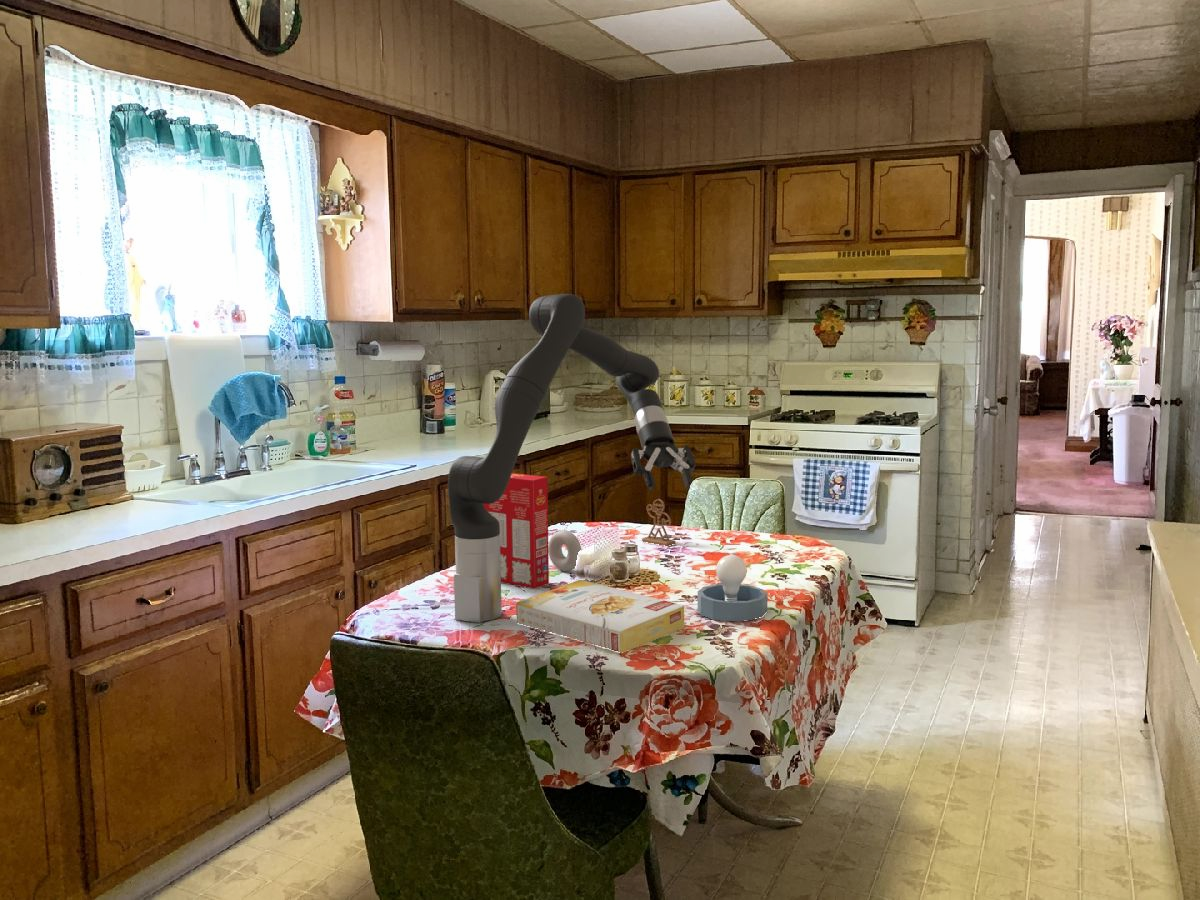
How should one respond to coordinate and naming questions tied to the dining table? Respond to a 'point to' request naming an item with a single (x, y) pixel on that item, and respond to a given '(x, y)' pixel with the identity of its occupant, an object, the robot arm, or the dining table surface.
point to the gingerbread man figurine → (653, 538)
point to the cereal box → (601, 615)
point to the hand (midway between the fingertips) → (670, 486)
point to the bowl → (732, 603)
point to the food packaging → (523, 530)
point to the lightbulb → (731, 575)
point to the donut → (556, 550)
